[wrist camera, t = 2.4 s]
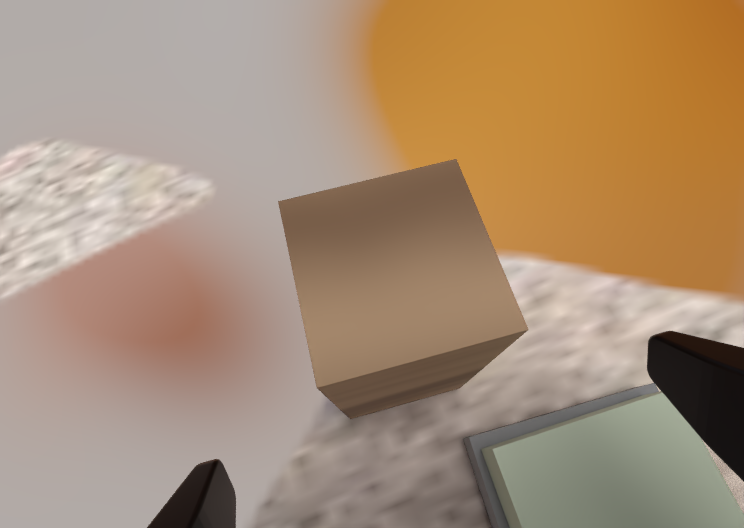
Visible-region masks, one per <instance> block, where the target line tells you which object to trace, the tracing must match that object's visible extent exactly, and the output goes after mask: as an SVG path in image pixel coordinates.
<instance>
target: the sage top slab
mask: <svg viewBox="0 0 744 528" xmlns="http://www.w3.org/2000/svg"><path fill="white" fill-rule="evenodd" d="M481 451H482V453H483V456H484V459H485V461H486V464H487V467H488V470H489V472H490V475H491V478H492V481H493V483H494V486H495V489H496V491H497V494H498V497H499V500H500V502H501V505H502V508H503V511H504V513H505V516H506V519H507V521H508V524H509V527H510V528H744V514H743V512H742V510H741V509H740V507H739V505H738V503H737V501H736V500H735V498H734V496H733V494H732V493H731V491H730V489H729V487H728V485H727V484H726V482H725V480H724V478H723V476H722V475H721V473H720V471H719V469H718V468H717V466H716V464H715V462H714V460H713V459H712V457H711V455H710V453H709V451H708V450H707V448H706V446H705V444H704V443H703V441H702V439H701V437H700V436H699V435H698V434H697V433H696V432H695V431H694V429H693V428H692V427H691V426H690V425H689V423H688V422H687V421H686V420H685V419H684V418H683V416H682V415H681V414H680V413H679V412H678V410H677V409H676V408H675V407H674V406H673V404H672V403H671V402H670V401H669V400H668V398H667V397H666V396H665V395H664V394H663V393H662V391H661V392H656V393H651V394H646V395H642V396H639V397H636V398H633V399H630V400H627V401H624V402H621V403H618V404H615V405H612V406H609V407H606V408H603V409H600V410H597V411H594V412H591V413H588V414H585V415H582V416H579V417H576V418H573V419H570V420H567V421H564V422H561V423H558V424H555V425H552V426H549V427H546V428H543V429H540V430H537V431H534V432H531V433H528V434H525V435H521V436H518V437H515V438H512V439H509V440H506V441H503V442H500V443H497V444H494V445H491V446H488V447H485V448H482V449H481Z"/></svg>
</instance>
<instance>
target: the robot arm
mask: <svg viewBox="0 0 744 528" xmlns="http://www.w3.org/2000/svg"><path fill="white" fill-rule="evenodd" d="M647 370H648V373H649V376H650V378H651V379H652V381H653V382H654V383H655V384H656V385H657V387H658V388H659V389H660V390H661V391H662V393H663V394H664V395H665V396H666V397H667V398H668V400H669V401H670V402H671V403H672V404H673V406H674V407H675V408H676V409H677V410H678V412H679V413H680V414H681V415H682V416H683V418H684V419H685V420H686V421H687V422H688V423H689V425H690V426H691V427H692V428H693V429H694V431H695V432H696V433H697V434H698V435H699V436H700V437H701V439H702V440H703V441H704V442H705V443H706V444H707V445H708V446H709V447H710V448H711V449H712V450H713V451H714V452H715V453H716V454H717V455H718V456H719V457H720V458H721V459H722V460H723V461H724V462H725V463H726V464H727V465H728V466H729V467H730V468H731V469H732V470H733V471H734V472H735V473H736V474H737V475H738V476H739V477H740V478H741V479H742V480H743V481H744V348H742V347H737V346H733V345H729V344H725V343H721V342H716V341H712V340H708V339H704V338H700V337H695V336H691V335H687V334H683V333H679V332H674V331H666V332H663V333H659V334H655V335H653V336H651V337H650V339H649V341H648V357H647ZM235 523H236V496H235V491H234V488H233V485H232V483H231V481H230V479H229V477H228V474H227V472H226V470H225V468H224V466H223V464H222V462H221V461H220V460H218V459H214V460H210V461H207V462H203V463H200V464H198V465H197V466H196V467H195V468H194V469H193V470H192V471H191V473H190V474H189V475H188V477H187V478H186V479H185V480H184V482H183V483H182V484H181V485H180V487H179V488H178V489H177V490H176V492H175V493H174V494H173V495H172V497H171V498H170V499H169V500H168V502H167V503H166V504H165V505H164V507H163V508H162V509H161V511H160V512H159V513H158V514H157V516H156V517H155V518H154V519H153V521H152V522H151V524H150V525H149V526H148V527H147V528H236V524H235Z"/></svg>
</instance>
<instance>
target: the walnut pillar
mask: <svg viewBox="0 0 744 528" xmlns="http://www.w3.org/2000/svg"><path fill="white" fill-rule="evenodd" d="M278 202H279V208H280V212H281V217H282V222H283V226H284V232H285V237H286V241H287V246H288V251H289V256H290V260H291V266H292V270H293V275H294V280H295V285H296V290H297V295H298V299H299V304H300V309H301V313H302V319H303V323H304V328H305V333H306V337H307V343H308V347H309V352H310V357H311V362H312V366H313V372H314V377H315V381H316V386H317V388H318V389H319V390H320V391H321V392H322V393H323V394H324V395H325V396H326V397H327V398H328V399H329V400H330V401H332V402H333V403H334V404H335V405H336V406H337V407H338V408H339V409H340V410H341V411H342V412H343V413H344V414H346V415H347V416H348V417H349V418H350V419H352V418H356V417H359V416H363V415H367V414H370V413H374V412H377V411H381V410H384V409H388V408H391V407H395V406H398V405H402V404H405V403H409V402H413V401H416V400H420V399H423V398H427V397H430V396H434V395H437V394H441V393H444V392H448V391H451V390H455V389H458V388H461V387H462V386H463V385H464V384H465V383H466V382H468V381H469V380H470V379H471V378H472V377H473V376H475V375H476V374H477V373H478V372H479V371H480V370H482V369H483V368H484V367H485V366H486V365H488V364H489V363H490V362H491V361H492V360H493V359H495V358H496V357H497V356H498V355H499V354H500V353H502V352H503V351H504V350H505V349H506V348H507V347H509V346H510V345H511V344H512V343H513V342H515V341H516V340H517V339H518V338H519V337H520V336H522V335H523V334H524V333H525V332H526V331H527V330H528V327H527V325H526V323H525V320H524V318H523V315H522V313H521V311H520V308H519V306H518V304H517V301H516V299H515V297H514V294H513V292H512V290H511V287H510V285H509V282H508V280H507V278H506V275H505V273H504V271H503V268H502V266H501V264H500V261H499V259H498V256H497V254H496V252H495V249H494V247H493V245H492V243H491V240H490V238H489V235H488V233H487V231H486V228H485V226H484V224H483V221H482V219H481V216H480V214H479V212H478V209H477V207H476V205H475V202H474V200H473V198H472V195H471V193H470V190H469V188H468V186H467V183H466V181H465V179H464V176H463V174H462V172H461V169H460V167H459V164H458V162H457V160H456V159H454V160H450V161H446V162H441V163H437V164H433V165H429V166H425V167H420V168H416V169H412V170H408V171H404V172H399V173H395V174H391V175H387V176H383V177H379V178H375V179H370V180H366V181H362V182H358V183H353V184H350V185H345V186H341V187H337V188H333V189H329V190H324V191H320V192H316V193H312V194H308V195H304V196H299V197H295V198H291V199H287V200H282V201H278Z"/></svg>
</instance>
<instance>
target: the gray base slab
mask: <svg viewBox="0 0 744 528" xmlns="http://www.w3.org/2000/svg"><path fill="white" fill-rule="evenodd" d="M656 392H659V391H658V389H657V387H656V385H655V383H652V384H648V385H644V386H640V387H636V388H633V389H629V390H626V391H622V392H619V393H616V394H612V395H609V396H605V397H602V398H599V399H595V400H592V401H588V402H585V403H582V404H578V405H575V406H571V407H568V408H565V409H561V410H558V411H554V412H551V413H548V414H544V415H541V416H537V417H534V418H531V419H527V420H524V421H520V422H517V423H514V424H510V425H507V426H503V427H500V428H497V429H493V430H490V431H486V432H483V433H480V434H476V435H473V436H469V437H466V438H463V440H464V443H465V446H466V449H467V452H468V455H469V458H470V461H471V464H472V467H473V470H474V473H475V476H476V479H477V482H478V486H479V489H480V492H481V495H482V498H483V501H484V504H485V507H486V510H487V513H488V516H489V519H490V522H491V525H492V528H510V527H509V524H508V521H507V519H506V516H505V513H504V511H503V508H502V505H501V502H500V500H499V497H498V494H497V491H496V489H495V486H494V483H493V481H492V478H491V475H490V472H489V470H488V467H487V464H486V461H485V459H484V456H483V453H482V451H481V449H482V448H485V447H488V446H491V445H494V444H497V443H500V442H503V441H506V440H509V439H512V438H515V437H518V436H521V435H525V434H528V433H531V432H534V431H537V430H540V429H543V428H546V427H549V426H552V425H555V424H558V423H561V422H564V421H567V420H570V419H573V418H576V417H579V416H582V415H585V414H588V413H591V412H594V411H597V410H600V409H603V408H606V407H609V406H612V405H615V404H618V403H621V402H624V401H627V400H630V399H633V398H636V397H639V396H642V395H646V394H651V393H656Z"/></svg>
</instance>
